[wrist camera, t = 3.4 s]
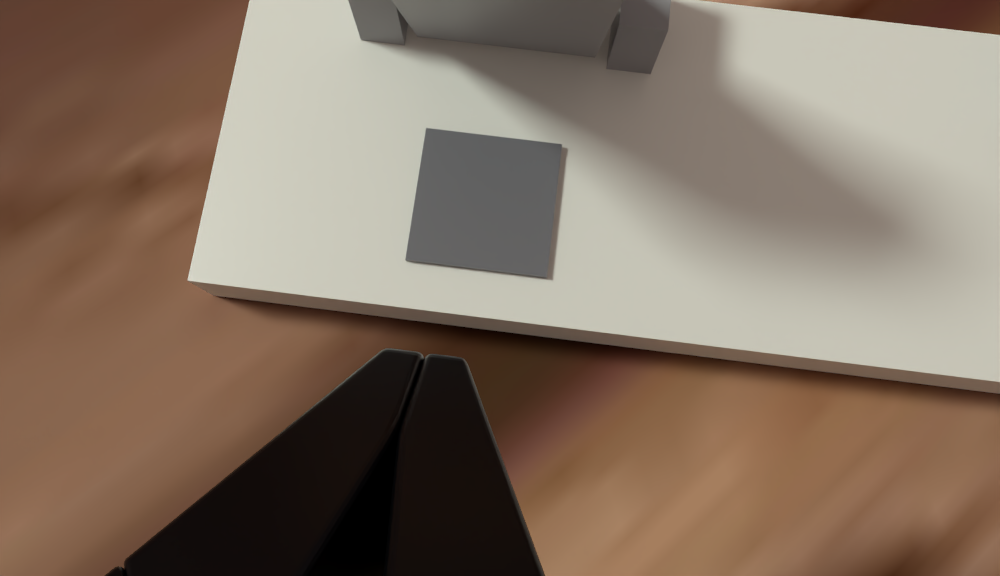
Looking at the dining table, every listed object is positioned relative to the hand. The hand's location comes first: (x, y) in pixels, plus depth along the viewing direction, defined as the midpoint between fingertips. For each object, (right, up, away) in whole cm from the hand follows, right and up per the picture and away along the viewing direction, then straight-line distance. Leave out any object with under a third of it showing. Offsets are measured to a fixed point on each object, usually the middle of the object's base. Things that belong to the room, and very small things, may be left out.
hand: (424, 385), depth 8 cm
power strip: (+7, +3, +10) cm, 13 cm away
